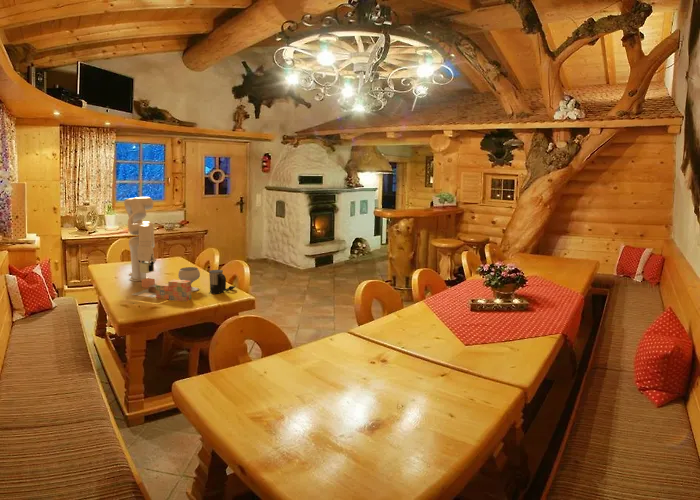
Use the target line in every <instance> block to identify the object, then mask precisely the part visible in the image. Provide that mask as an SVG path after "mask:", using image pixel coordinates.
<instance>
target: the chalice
mask: <svg viewBox="0 0 700 500" xmlns="http://www.w3.org/2000/svg"><path fill="white" fill-rule="evenodd" d="M200 276H201V272H200V270H199V268H198V267H195V266H186V267H182V268H180V269H179V271H178V276H177V277H178V280H187V281H191V285H192V284H193V283H194V282H196V281H197V280H199V279H200ZM198 291H200V288H198V287H195V286H191V293H194V292H198Z"/></svg>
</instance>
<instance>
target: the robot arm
mask: <svg viewBox="0 0 700 500" xmlns="http://www.w3.org/2000/svg"><path fill="white" fill-rule="evenodd" d="M153 200H154V199H153V198H152V197H150V196H139V197H137V196H136V197H133V198H132V197H130V198H126V199H125V200H124V202H123V203H124V204H123V205H124V208H125V211H126V213H127V215H128V220H127V227H128V232H129V234H130V235H132V236H134V237H131V238H130V239H128V247H129V250H130V260H131V261H130V262H131V272H130V273H128V276H129V277H130V278H129V280H130V281H131V282H142V280H143V279H147V278H150V277H149V275H148V276H147V273H143V272H140V263H143V262H148V263H149V271H153V265H154V264H155V263H156V262H157V259H156V257H155V251H154V249H155V245H156V244H155V243H156V242H155V230H154V229H155V228H154V224H153V223H152V222H151V221H143V220H144V218H146V217H147V210H148V211H149V210H152V209H154V201H153ZM154 266H155V265H154ZM153 272H154V271H153Z"/></svg>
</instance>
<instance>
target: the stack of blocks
mask: <svg viewBox="0 0 700 500" xmlns="http://www.w3.org/2000/svg"><path fill="white" fill-rule="evenodd" d="M156 284H157V285H155V286H156V298H157V299H164V300H165V299H166V300H167V301H178V302H189V301H190V300H192V292H191V287H192V284H191V281H187V280H180V279H171V280H169V281H168V283H163V282H160V283H156Z"/></svg>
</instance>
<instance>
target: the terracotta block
mask: <svg viewBox="0 0 700 500" xmlns="http://www.w3.org/2000/svg"><path fill="white" fill-rule="evenodd" d="M155 281H156V280H155V278H150V277H149V278H147V279H143V280H142V281H141V287H142V288H143V289H144V288H145V289H148V286H150V285H154V284H156V282H155Z"/></svg>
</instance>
